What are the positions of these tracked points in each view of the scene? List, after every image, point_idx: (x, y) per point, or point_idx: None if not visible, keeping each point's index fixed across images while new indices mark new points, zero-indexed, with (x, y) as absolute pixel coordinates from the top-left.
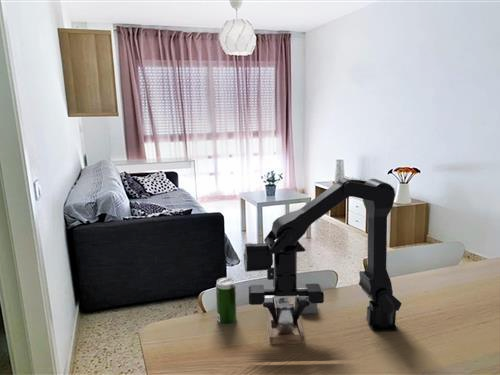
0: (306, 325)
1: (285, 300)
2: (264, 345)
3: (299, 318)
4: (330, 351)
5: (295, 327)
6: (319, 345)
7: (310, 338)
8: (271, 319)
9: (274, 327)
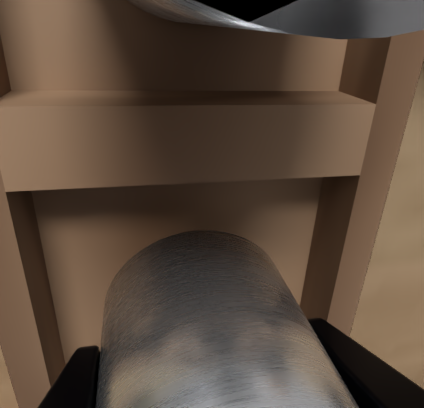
0: (411, 121)
1: (410, 23)
2: (6, 400)
3: (398, 152)
4: (421, 386)
5: (300, 202)
6: (389, 352)
7: (366, 295)
8: (14, 173)
9: (76, 206)
